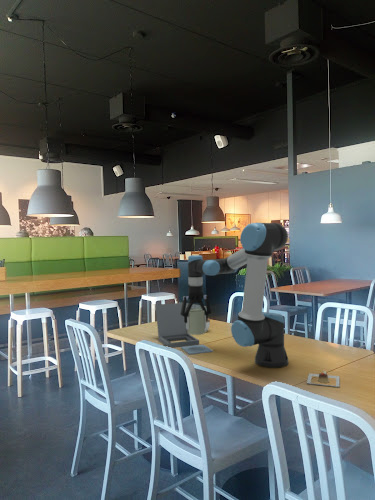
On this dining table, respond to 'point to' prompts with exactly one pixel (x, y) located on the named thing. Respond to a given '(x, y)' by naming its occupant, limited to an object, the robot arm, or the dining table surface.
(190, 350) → the mat
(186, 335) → the case
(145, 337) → the dining table surface
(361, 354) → the dining table surface
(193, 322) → the can
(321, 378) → the dessert
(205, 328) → the lidded jar
